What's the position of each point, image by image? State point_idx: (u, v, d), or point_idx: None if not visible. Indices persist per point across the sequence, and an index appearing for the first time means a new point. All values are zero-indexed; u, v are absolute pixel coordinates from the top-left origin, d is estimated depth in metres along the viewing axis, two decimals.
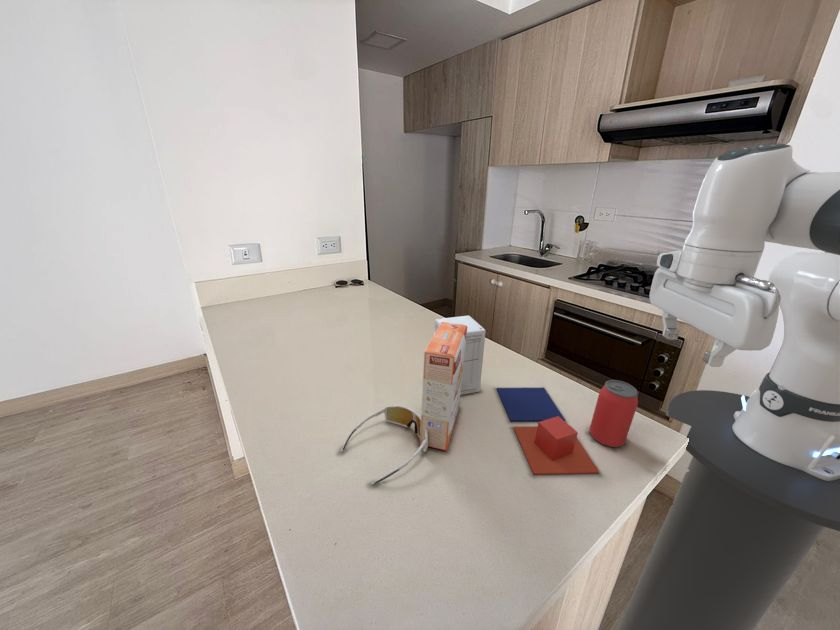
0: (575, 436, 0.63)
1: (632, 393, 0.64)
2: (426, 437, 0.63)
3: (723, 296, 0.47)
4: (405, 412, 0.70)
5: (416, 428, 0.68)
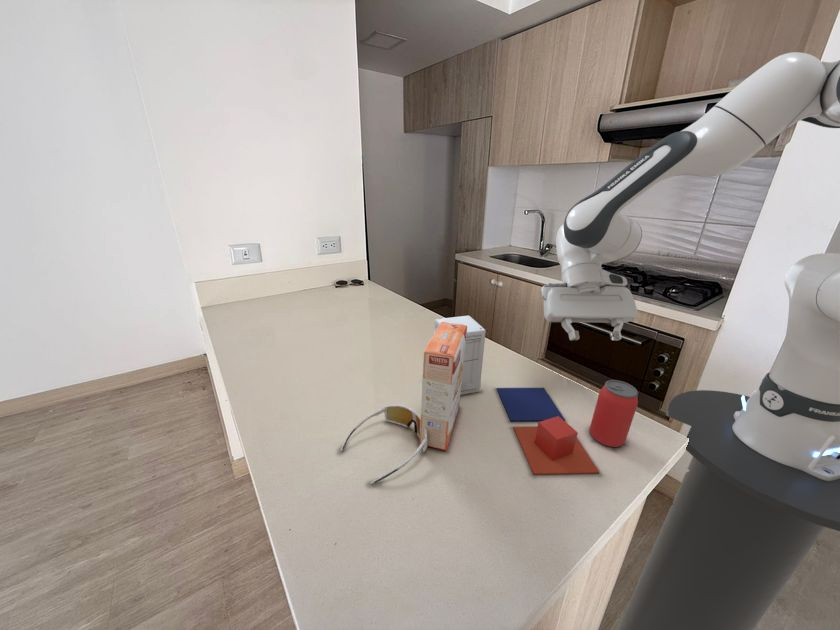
0: (575, 436, 0.63)
1: (632, 393, 0.64)
2: (426, 437, 0.63)
3: None
4: (405, 412, 0.70)
5: (416, 428, 0.69)
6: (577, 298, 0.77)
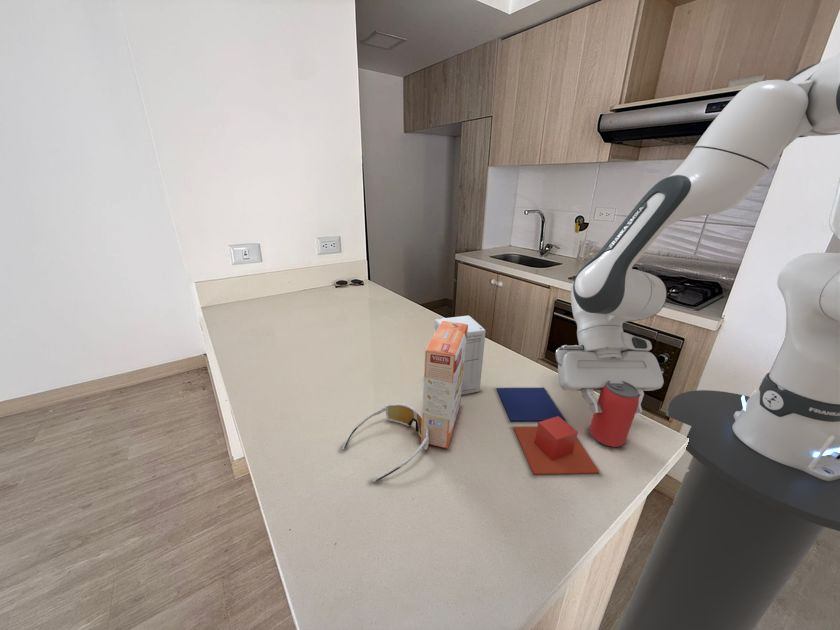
0: (575, 436, 0.63)
1: (633, 393, 0.64)
2: (427, 435, 0.63)
3: None
4: (406, 410, 0.71)
5: (417, 426, 0.69)
6: (595, 364, 0.69)
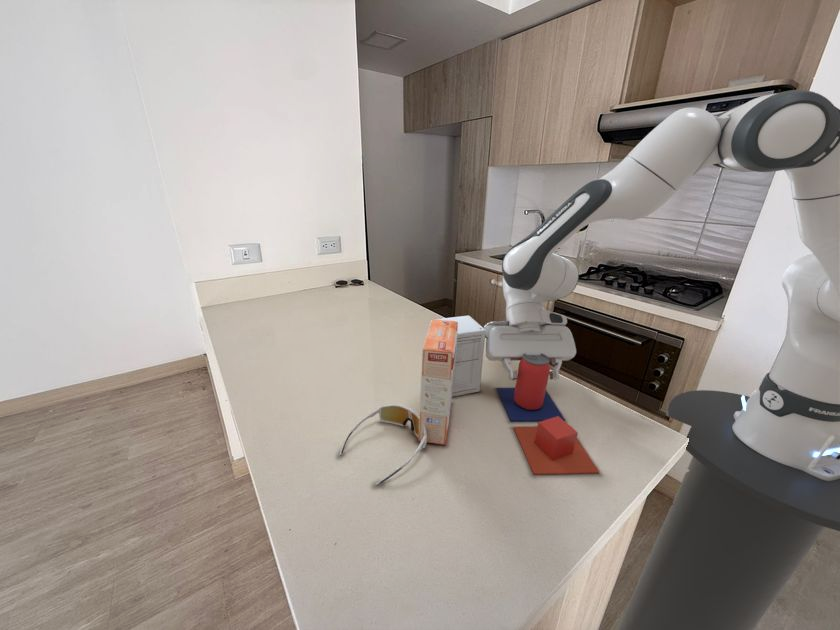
0: (575, 436, 0.63)
1: (544, 361, 0.73)
2: (425, 433, 0.64)
3: None
4: (400, 411, 0.71)
5: (412, 426, 0.69)
6: (517, 337, 0.78)
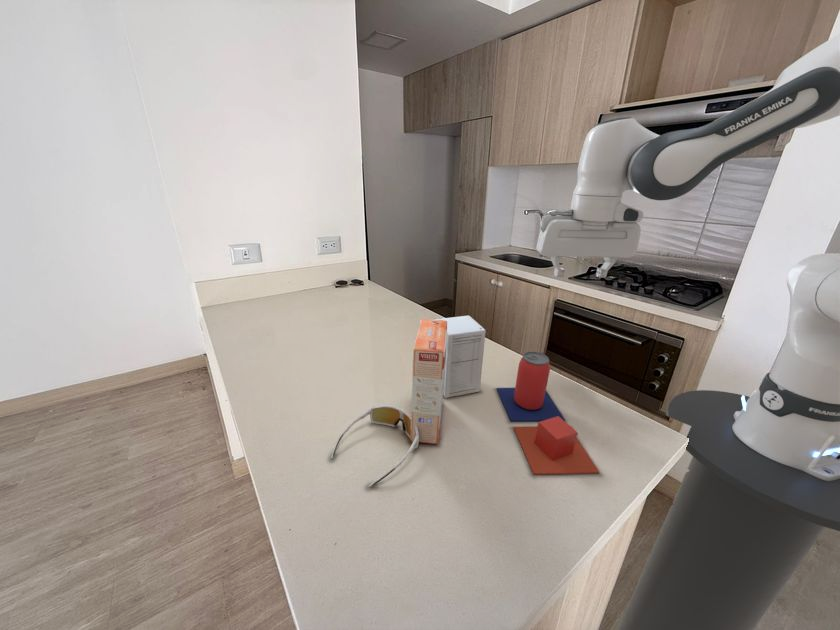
0: (575, 436, 0.63)
1: (544, 361, 0.73)
2: (417, 433, 0.64)
3: None
4: (391, 411, 0.70)
5: (404, 426, 0.69)
6: (577, 234, 0.69)
